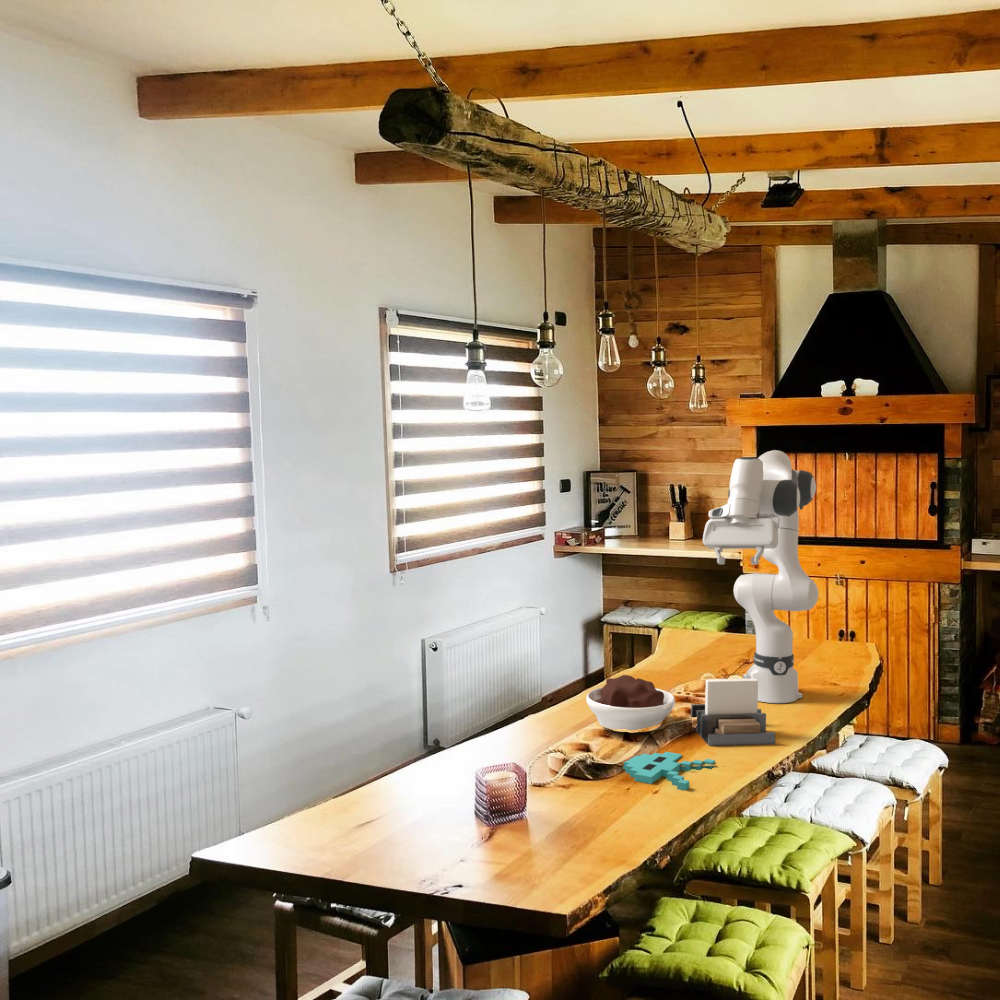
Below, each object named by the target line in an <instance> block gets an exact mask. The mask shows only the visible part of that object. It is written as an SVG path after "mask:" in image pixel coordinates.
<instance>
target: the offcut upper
mask: <svg viewBox="0 0 1000 1000" xmlns="http://www.w3.org/2000/svg"><path fill="white" fill-rule="evenodd" d="M718 729H719V730H720V731H721V732H722V733H760V723H759V722H757V721H756V720H755V719H723V720H719V724H718Z"/></svg>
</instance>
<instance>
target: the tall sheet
mask: <svg viewBox="0 0 1000 1000" xmlns="http://www.w3.org/2000/svg"><path fill="white" fill-rule="evenodd" d="M704 696H705V697H704V699H705V700H704V701H705V702H704V704H705V714H745V713H757V709H759V707H758V705H759V701H758V680H757V679H743V678H718V679H717V678H716V679H714V678H713V679H712V678H711V679H705V695H704Z"/></svg>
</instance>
